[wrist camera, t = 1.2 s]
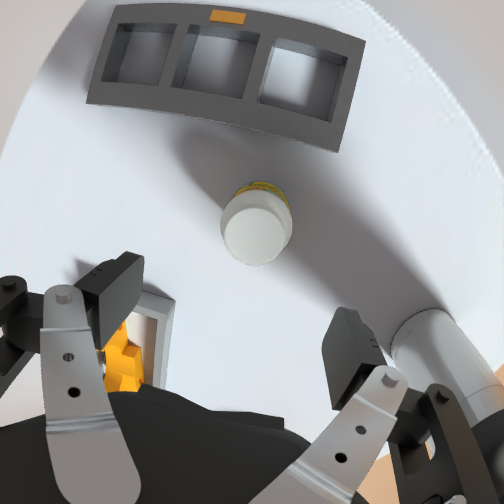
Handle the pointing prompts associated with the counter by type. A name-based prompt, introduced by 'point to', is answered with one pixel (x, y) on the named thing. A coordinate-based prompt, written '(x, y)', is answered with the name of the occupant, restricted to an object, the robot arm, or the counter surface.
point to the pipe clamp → (122, 363)
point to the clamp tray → (164, 314)
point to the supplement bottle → (256, 223)
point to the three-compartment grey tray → (248, 108)
